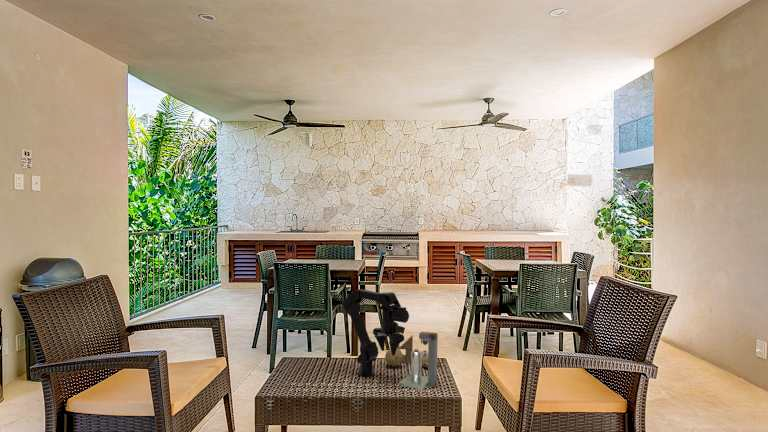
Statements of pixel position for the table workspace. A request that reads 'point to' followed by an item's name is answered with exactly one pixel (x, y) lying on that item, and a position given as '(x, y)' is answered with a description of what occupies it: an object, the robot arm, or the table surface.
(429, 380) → the press
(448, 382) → the table surface
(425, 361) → the ceramic sculpture
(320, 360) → the table surface
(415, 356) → the cocktail shaker
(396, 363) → the natural sponge
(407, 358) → the brown angular piece
